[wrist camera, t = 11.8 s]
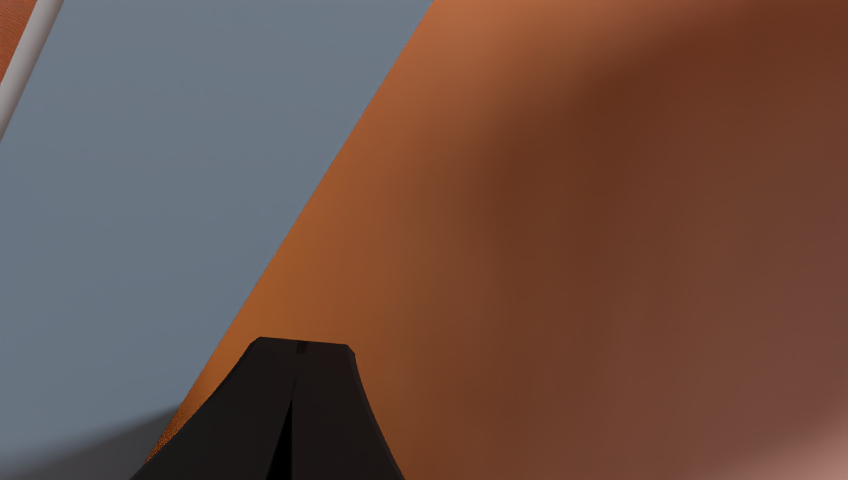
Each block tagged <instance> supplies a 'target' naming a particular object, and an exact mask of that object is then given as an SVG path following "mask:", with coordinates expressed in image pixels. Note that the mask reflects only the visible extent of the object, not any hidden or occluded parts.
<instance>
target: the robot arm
mask: <svg viewBox="0 0 848 480" xmlns="http://www.w3.org/2000/svg"><path fill="white" fill-rule="evenodd" d="M129 480H405V479H404V477H403V475H402V473H401V471H400V469H399V467H398V465H397V464H396V462H395V460H394V458H393V456H392V454H391V452H390V449H389V447H388V445H387V443H386V441H385V439H384V437H383V435H382V432H381V430H380V428H379V426H378V424H377V422H376V419H375V417H374V414H373V412H372V410H371V407H370V405H369V402H368V399H367V397H366V394H365V391H364V388H363V385H362V382H361V379H360V376H359V372H358V369H357V364H356V360H355V353H354V352H353V351H352V350H351V349H350V347H349V346H348V345H345V344H334V343H323V342H312V341H301V340H290V339H279V338H268V337H259V338H257V339H256V340H255V341H253V342H252V343H250V345H249V346H248V348H247V349H246V351H245V352H244V354H243V355H242V357H241V358H240V359H239V361H238V362H237V364H236V365H235V366H234V368H233V369H232V370H231V371H230V373H229V374H228V375H227V377H226V378H225V379H224V380H223V381H222V383H221V384H220V385H219V386H218V387H217V389H216V390H215V391H214V392H213V394H212V395H211V396H210V397H209V398H208V399H207V400H206V401H205V403H204V404H203V405H202V406H201V407H200V408H199V409H198V410H197V411H196V413H195V414H194V415H193V416H192V417H191V418H190V419H189V420H188V421H187V423H186V424H185V425H184V426H183V427H182V428H181V429H180V430H179V431H178V432H177V433H176V434H175V435H174V436H173V438H172V439H171V440H170V441H168V442H167V443H166V444H165V445H164V446H163V447H162V448H161V449H160V450H159V451H158V452H157V453H156V454H155V455H154V456H153V457H152V458H151V459H150V460H149V461H148V462H147V463H146V464H145V465H144V466H143V467H142V468H141V469H140V470H139V471H138V472H137V473H136V474H134V475H133V476H132V477H131V478H130V479H129Z"/></svg>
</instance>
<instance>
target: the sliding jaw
mask: <svg viewBox="0 0 848 480" xmlns="http://www.w3.org/2000/svg"><path fill="white" fill-rule="evenodd" d="M433 1H434V0H37V2H36V5H35V7H34V9H33V12H32V14H31V16H30V18H29V21H28V23H27V25H26V28H25V30H24V32H23V34H22V37H21V39H20V41H19V44H18V46H17V48H16V50H15V53H14V55H13V57H12V59H11V62H10V64H9V66H8V69H7V71H6V73H5V75H4V78H3V80H2V82H1V85H0V480H129V479H130V478H131V477H132V476H133V475H134V474H136V473H137V472H138V471H139V470H140V469H141V468H142V466H143V464H144V463H145V461H146V460H147V458H148V456H149V455H150V453H151V452H152V450H153V448H154V447H155V445H156V444H157V442H158V440H159V439H160V437H161V436H162V434H163V432H164V431H165V429H166V428H167V426H168V424H169V423H170V421H171V420H172V418H173V416H174V415H175V413H176V412H177V410H178V408H179V407H180V405H181V404H182V402H183V400H184V399H185V397H186V396H187V394H188V392H189V391H190V389H191V388H192V386H193V384H194V383H195V381H196V380H197V378H198V376H199V375H200V373H201V372H202V370H203V368H204V367H205V365H206V364H207V362H208V360H209V359H210V357H211V356H212V354H213V352H214V351H215V349H216V348H217V346H218V344H219V343H220V341H221V340H222V338H223V336H224V335H225V333H226V332H227V330H228V328H229V327H230V325H231V324H232V322H233V320H234V319H235V317H236V316H237V314H238V312H239V311H240V309H241V308H242V306H243V304H244V303H245V301H246V300H247V298H248V296H249V295H250V293H251V292H252V290H253V288H254V287H255V285H256V284H257V282H258V280H259V279H260V277H261V276H262V274H263V272H264V271H265V269H266V268H267V266H268V264H269V263H270V261H271V260H272V258H273V256H274V255H275V253H276V252H277V250H278V248H279V247H280V245H281V244H282V242H283V240H284V239H285V237H286V236H287V234H288V232H289V231H290V229H291V228H292V226H293V224H294V223H295V221H296V220H297V218H298V216H299V215H300V213H301V212H302V210H303V208H304V207H305V205H306V204H307V202H308V200H309V199H310V197H311V196H312V194H313V192H314V191H315V189H316V188H317V186H318V184H319V183H320V181H321V180H322V178H323V176H324V175H325V173H326V172H327V170H328V168H329V167H330V165H331V164H332V162H333V160H334V159H335V157H336V156H337V154H338V152H339V151H340V149H341V148H342V146H343V144H344V143H345V141H346V140H347V138H348V136H349V135H350V133H351V132H352V130H353V128H354V127H355V125H356V124H357V122H358V121H359V119H360V117H361V116H362V114H363V113H364V111H365V109H366V108H367V106H368V105H369V103H370V101H371V100H372V98H373V97H374V95H375V93H376V92H377V90H378V89H379V87H380V85H381V84H382V82H383V81H384V79H385V77H386V76H387V74H388V73H389V71H390V69H391V68H392V66H393V65H394V63H395V61H396V60H397V58H398V57H399V55H400V53H401V52H402V50H403V49H404V47H405V45H406V44H407V42H408V41H409V39H410V37H411V36H412V34H413V33H414V31H415V29H416V28H417V26H418V25H419V23H420V21H421V20H422V18H423V17H424V15H425V13H426V12H427V10H428V9H429V7H430V5H431V4H432V2H433Z"/></svg>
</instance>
